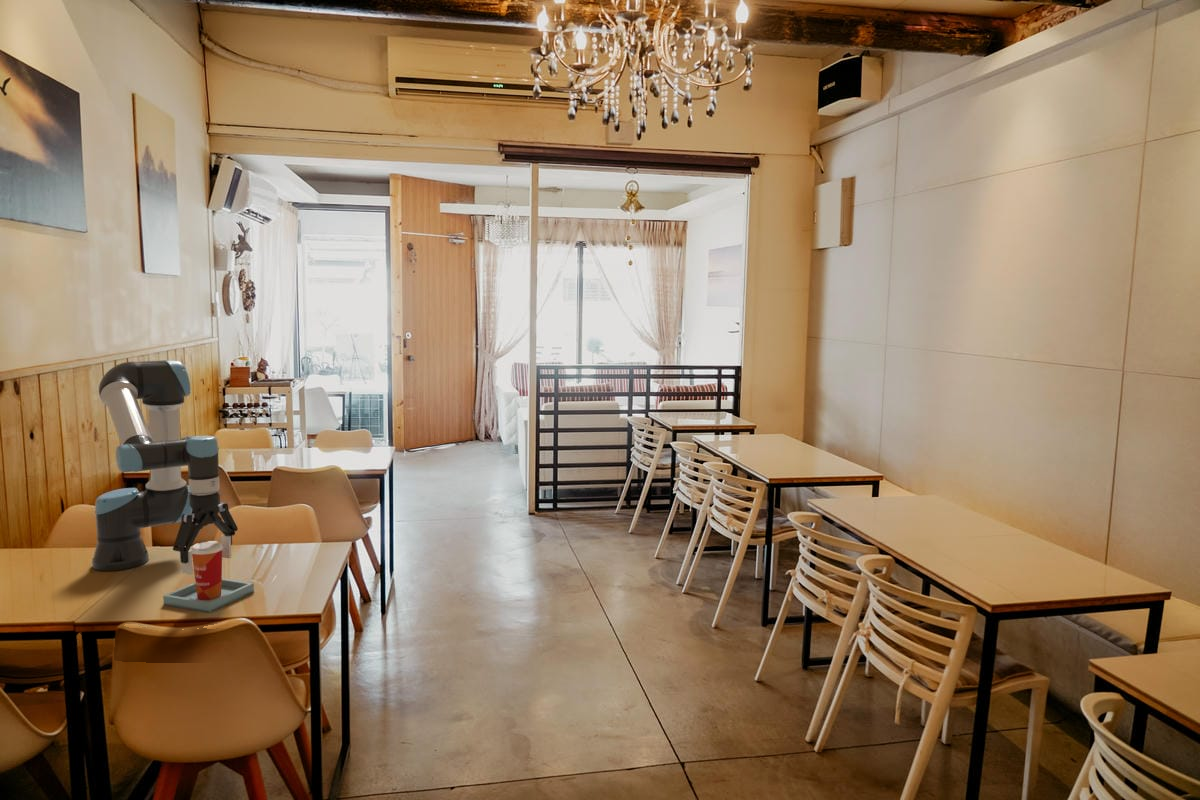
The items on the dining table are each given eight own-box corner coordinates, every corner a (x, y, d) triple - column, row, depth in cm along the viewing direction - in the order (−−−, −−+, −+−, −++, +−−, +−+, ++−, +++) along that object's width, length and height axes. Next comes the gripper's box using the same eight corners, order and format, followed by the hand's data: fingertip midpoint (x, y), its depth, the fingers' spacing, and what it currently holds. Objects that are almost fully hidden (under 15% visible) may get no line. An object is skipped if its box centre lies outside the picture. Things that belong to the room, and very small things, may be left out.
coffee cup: (188, 595, 211) (186, 544, 209) (219, 588, 216) (217, 538, 215) (198, 604, 205) (195, 551, 203) (230, 596, 210) (227, 545, 209)
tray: (163, 604, 206) (163, 595, 205) (210, 584, 221) (209, 576, 220) (209, 612, 201) (209, 603, 200) (254, 591, 216) (253, 583, 216)
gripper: (177, 504, 194) (181, 582, 197) (249, 483, 218) (251, 553, 221) (155, 501, 196) (159, 578, 199) (228, 480, 220) (231, 549, 223)
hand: (207, 565), depth 210 cm, fingers open, 13 cm apart
